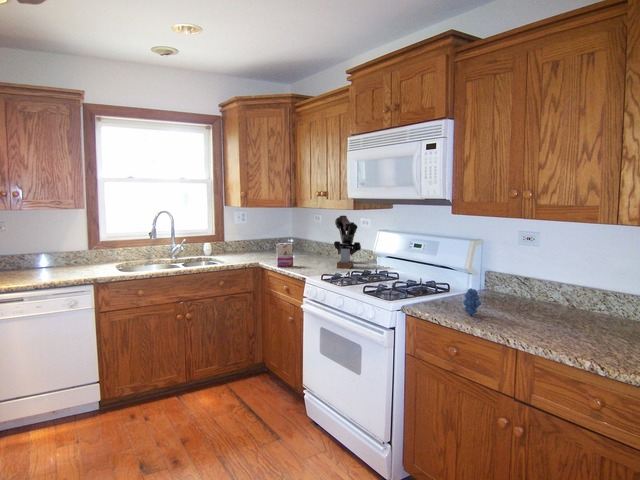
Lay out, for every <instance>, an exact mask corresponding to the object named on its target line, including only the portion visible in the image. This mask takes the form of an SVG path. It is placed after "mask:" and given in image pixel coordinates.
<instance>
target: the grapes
mask: <svg viewBox="0 0 640 480" xmlns="http://www.w3.org/2000/svg"><path fill="white" fill-rule="evenodd" d="M464 298H465V299H464V300H463V301H462V302H463V303H462V304H463V305H464V311H465V312H466V313H467V315H469V316H473V315H475V314H476V313H477V312H478V308H479V307H480V306H481V305H482V302H481V301H480V299H481V298H480V296H479V295H478V290H476V289H474V288H468V289H467V290H466V292H465V294H464Z"/></svg>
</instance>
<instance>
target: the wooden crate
mask: <svg viewBox="0 0 640 480" xmlns="http://www.w3.org/2000/svg"><path fill="white" fill-rule="evenodd" d="M354 263H355V262H354V261H353V260H350V263H342V262H341V260H340V261H337V262H336V269H346V270H350V269H353V268H354Z"/></svg>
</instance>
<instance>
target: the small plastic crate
mask: <svg viewBox="0 0 640 480" xmlns="http://www.w3.org/2000/svg"><path fill="white" fill-rule="evenodd" d="M350 258H351V254H350V249H341V254H340V261H341V262H342V263H350V261H351V259H350Z"/></svg>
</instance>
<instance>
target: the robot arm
mask: <svg viewBox="0 0 640 480" xmlns="http://www.w3.org/2000/svg"><path fill="white" fill-rule="evenodd" d="M334 221H335V222H334V225H336V228H337V229H338V231H339V234H340V240H341V241H336V240H335V241H334V243H333V245H334V248H335V249H336V250H337V255H341V249H350V257H351V256H353V255H354V254H355V253H357V252H358V251H361V250H362V245H361V243H360V241H359V242H356V241H355V242H354V237H355V235H356V233H357V232H356V231H357V230H358V225H357V224H356V223H354V222H351V221H350V220H349V218H348V216H347V215H339V217H337V218H336V219H335V220H334Z"/></svg>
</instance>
